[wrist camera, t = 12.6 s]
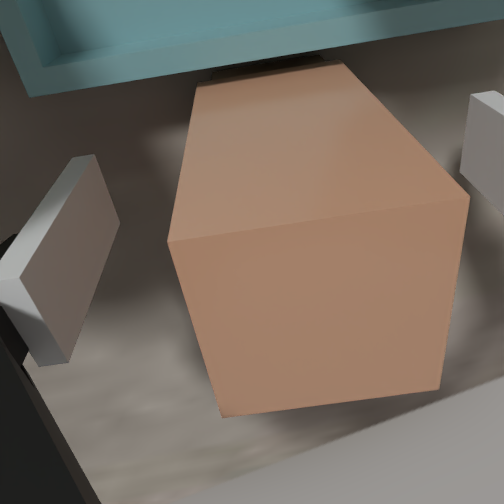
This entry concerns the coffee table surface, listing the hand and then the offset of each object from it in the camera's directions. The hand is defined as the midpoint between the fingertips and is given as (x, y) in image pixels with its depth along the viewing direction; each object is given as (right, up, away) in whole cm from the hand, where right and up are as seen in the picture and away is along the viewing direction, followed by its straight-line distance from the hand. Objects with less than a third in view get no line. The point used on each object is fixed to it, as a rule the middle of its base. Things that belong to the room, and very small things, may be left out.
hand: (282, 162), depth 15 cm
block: (0, +1, +2) cm, 2 cm away
